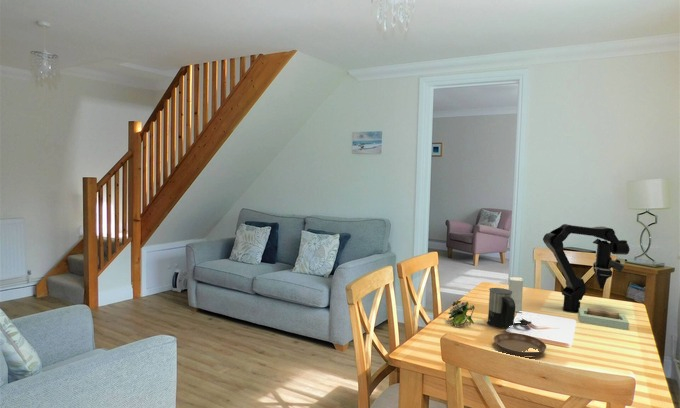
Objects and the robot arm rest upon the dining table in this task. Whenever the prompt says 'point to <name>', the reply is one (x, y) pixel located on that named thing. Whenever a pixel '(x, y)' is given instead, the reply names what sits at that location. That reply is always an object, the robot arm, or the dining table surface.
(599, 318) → the sage cradle
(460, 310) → the green leafy plant
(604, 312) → the walnut peg
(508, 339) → the plant saucer
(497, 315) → the milk frother
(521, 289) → the skincare box
